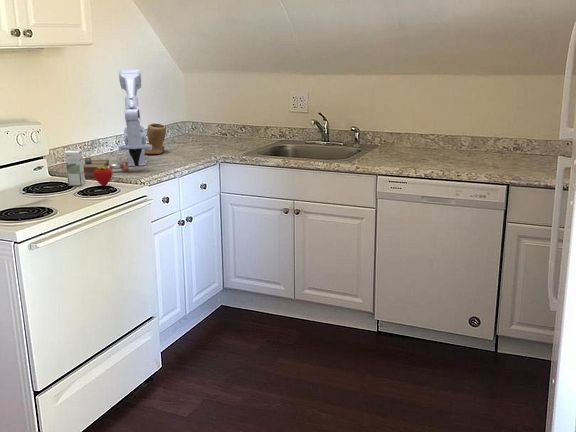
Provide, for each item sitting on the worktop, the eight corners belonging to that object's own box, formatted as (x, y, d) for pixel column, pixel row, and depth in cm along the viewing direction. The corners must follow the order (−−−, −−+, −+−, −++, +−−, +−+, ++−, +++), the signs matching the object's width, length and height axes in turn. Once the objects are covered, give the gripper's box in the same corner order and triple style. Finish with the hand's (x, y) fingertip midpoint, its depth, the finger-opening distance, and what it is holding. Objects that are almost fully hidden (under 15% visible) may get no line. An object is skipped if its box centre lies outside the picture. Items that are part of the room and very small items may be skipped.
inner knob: (103, 170, 291) (102, 161, 290) (128, 169, 292) (128, 160, 290) (101, 172, 287) (100, 163, 286) (127, 171, 288) (126, 162, 287)
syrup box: (85, 182, 271) (82, 148, 267) (82, 186, 266) (78, 151, 261) (72, 182, 271) (68, 149, 267) (68, 186, 266) (63, 151, 261)
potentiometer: (85, 163, 285) (84, 155, 284) (92, 162, 285) (91, 154, 284) (84, 164, 282) (83, 156, 281) (90, 164, 283) (90, 156, 281)
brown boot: (166, 155, 323) (164, 125, 319) (142, 156, 323) (139, 126, 319) (170, 149, 338) (168, 121, 334) (147, 150, 337) (145, 121, 333)
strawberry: (95, 185, 267) (92, 161, 264) (113, 184, 268) (111, 160, 265) (93, 188, 261) (91, 164, 258) (113, 187, 263) (110, 163, 260)
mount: (89, 170, 292) (88, 160, 291) (109, 170, 293) (108, 159, 291) (82, 178, 278) (81, 167, 276) (103, 178, 279) (102, 166, 277)
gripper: (116, 137, 281) (119, 168, 285) (149, 136, 282) (152, 167, 286) (118, 135, 288) (121, 164, 292) (151, 134, 289) (153, 163, 293)
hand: (136, 165), depth 289 cm, fingers closed
